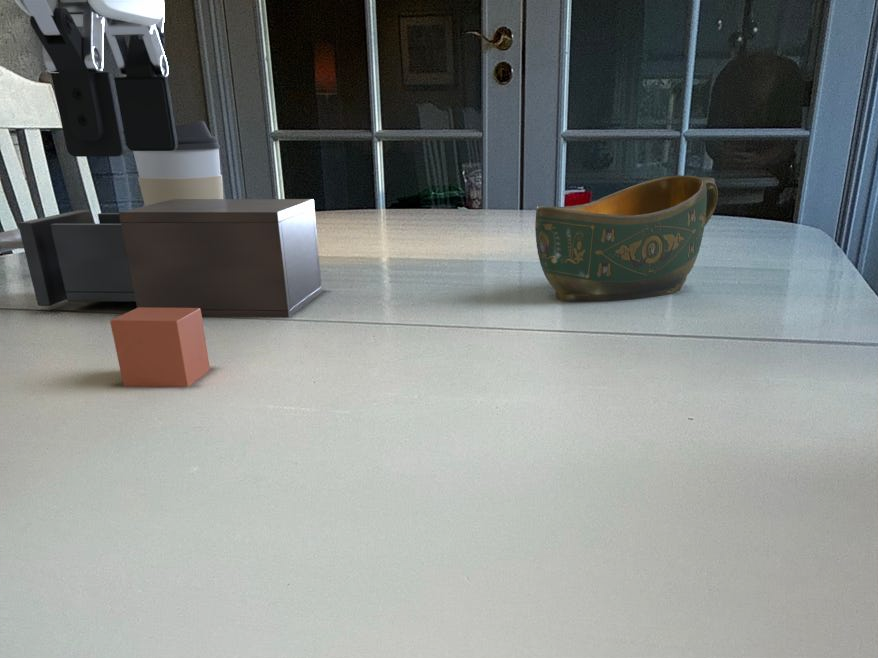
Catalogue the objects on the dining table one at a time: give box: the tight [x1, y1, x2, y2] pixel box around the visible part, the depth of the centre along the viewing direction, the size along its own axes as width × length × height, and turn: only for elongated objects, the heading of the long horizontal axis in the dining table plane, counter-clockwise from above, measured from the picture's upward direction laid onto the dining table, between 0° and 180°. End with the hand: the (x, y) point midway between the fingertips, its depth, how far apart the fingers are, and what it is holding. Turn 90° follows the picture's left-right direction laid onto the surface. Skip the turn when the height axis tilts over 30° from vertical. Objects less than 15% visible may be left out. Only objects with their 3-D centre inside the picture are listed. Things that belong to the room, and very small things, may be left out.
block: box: [109, 307, 211, 388], centre depth 60 cm, size 4×4×4 cm
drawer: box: [0, 209, 136, 307], centre depth 83 cm, size 18×11×7 cm, turn 85°
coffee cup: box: [132, 120, 224, 206], centre depth 96 cm, size 9×9×15 cm
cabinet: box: [118, 198, 323, 318], centre depth 82 cm, size 14×13×9 cm
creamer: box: [534, 174, 719, 303], centre depth 86 cm, size 13×20×10 cm, turn 98°
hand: (126, 150), depth 54 cm, fingers open, 7 cm apart
